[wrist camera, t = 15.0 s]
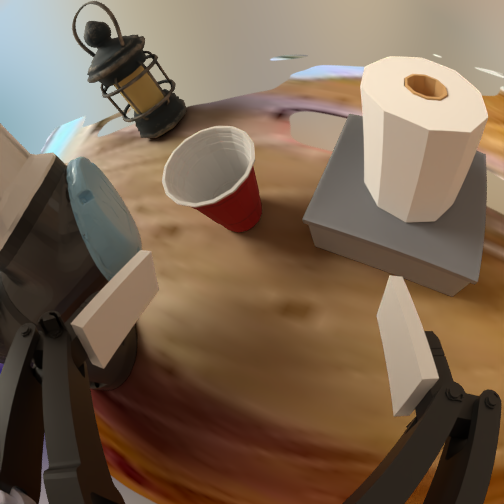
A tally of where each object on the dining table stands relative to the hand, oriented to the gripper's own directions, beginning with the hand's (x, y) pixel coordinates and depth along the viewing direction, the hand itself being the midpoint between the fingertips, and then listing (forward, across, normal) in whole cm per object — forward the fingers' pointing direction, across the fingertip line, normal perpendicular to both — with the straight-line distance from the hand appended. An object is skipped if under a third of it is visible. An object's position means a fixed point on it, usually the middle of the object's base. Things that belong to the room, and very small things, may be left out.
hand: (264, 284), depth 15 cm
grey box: (+20, +14, -2) cm, 25 cm away
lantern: (+46, -29, +6) cm, 54 cm away
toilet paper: (+16, +13, +3) cm, 21 cm away
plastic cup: (+23, -6, -6) cm, 25 cm away
